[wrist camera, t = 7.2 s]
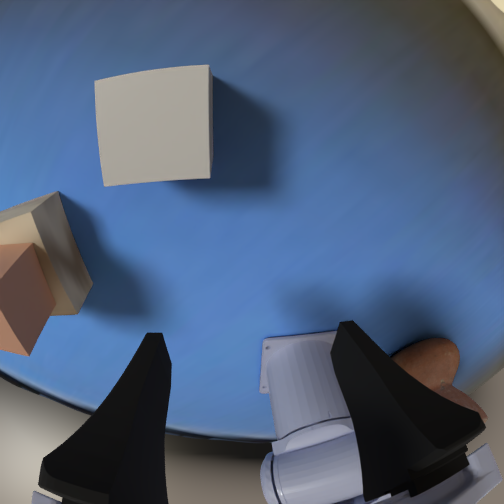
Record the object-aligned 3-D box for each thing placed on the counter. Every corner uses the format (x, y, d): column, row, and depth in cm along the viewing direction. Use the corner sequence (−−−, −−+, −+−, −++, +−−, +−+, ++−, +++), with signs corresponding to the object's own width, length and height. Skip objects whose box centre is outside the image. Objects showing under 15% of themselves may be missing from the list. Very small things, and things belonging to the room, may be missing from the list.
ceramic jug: (330, 378, 30) (363, 485, 18) (430, 303, 25) (497, 404, 13) (385, 403, 37) (412, 472, 25) (456, 351, 33) (495, 418, 21)
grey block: (213, 155, 16) (209, 178, 12) (133, 161, 16) (104, 186, 11) (212, 75, 13) (208, 64, 9) (129, 84, 13) (94, 81, 9)
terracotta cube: (56, 304, 16) (29, 356, 12) (12, 300, 15) (-15, 345, 11) (32, 242, 13) (-10, 291, 9) (-11, 245, 13) (-49, 287, 9)
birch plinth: (94, 281, 20) (77, 314, 17) (31, 288, 20) (12, 316, 16) (60, 189, 16) (30, 211, 12) (-3, 212, 16) (-30, 234, 12)
